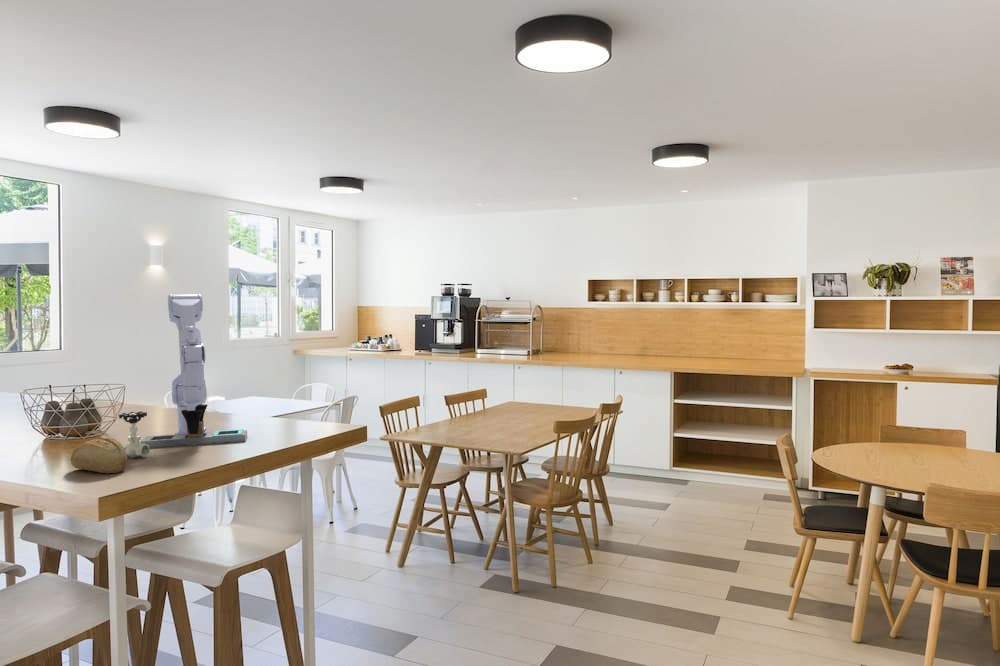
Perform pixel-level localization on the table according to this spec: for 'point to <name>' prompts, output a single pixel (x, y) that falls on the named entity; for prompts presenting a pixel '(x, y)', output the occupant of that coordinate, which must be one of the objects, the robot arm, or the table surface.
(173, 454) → the table surface
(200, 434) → the walnut block
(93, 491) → the table surface
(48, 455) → the table surface
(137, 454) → the valve
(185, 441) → the grey slotted board
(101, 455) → the bread roll
